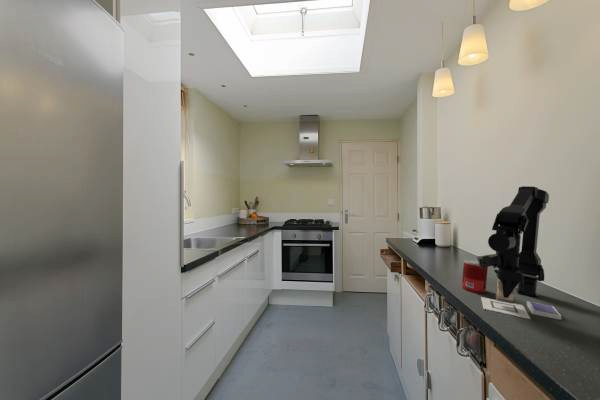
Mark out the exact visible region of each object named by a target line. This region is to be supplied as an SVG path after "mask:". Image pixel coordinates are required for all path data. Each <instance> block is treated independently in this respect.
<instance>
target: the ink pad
mask: <svg viewBox="0 0 600 400" xmlns="http://www.w3.org/2000/svg"><path fill="white" fill-rule="evenodd" d="M526 306H527V308H528V309H529V311H530V313H531V314H532V315H536V316H541V317H546V318H549V319H550V318H551V319H555V320H559V321H560V320H562V314H561V313H560V312H558V310H557V309H556V308H555V307H554V305H549V304H548V305H547V304H543V303H537V302H533V301H528V300H527V301H526Z"/></svg>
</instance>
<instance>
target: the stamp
mask: <svg viewBox="0 0 600 400" xmlns="http://www.w3.org/2000/svg"><path fill="white" fill-rule="evenodd" d="M496 283H497V285H496V294H495V300H497V301H501V302H506V303H512V304H515V303H514V292H515V289H514V290H513V291H512V293H511V294H510V296H509V297H508V298H504V296H503V289H502V281H501V280H500V279H497V282H496Z"/></svg>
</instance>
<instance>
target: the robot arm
mask: <svg viewBox="0 0 600 400" xmlns="http://www.w3.org/2000/svg"><path fill="white" fill-rule="evenodd" d="M549 201H550V195H549V193H548V192H547V191H546V190H544V189H540V188H538V187H537V186H528V185H527V186H525V185H522V186H519V187H518V191H517V193H516V194H515V197H514V198H513V199H512V201H511V203H510V205H508V206H504V207H503V208H501V210H500V211H499V212H497V214H496V216H495V219H494V221H493V225H492V228H491V231H496V232H495V233H493V234H491V235H490V236H489V237H488V239H487V243H488V247H490V249H492V250H493V251H494V252H495V253H494V254H486V255H485V254H484V255H481V256H480V255H479V256H476V258H477V260H478V262H479V265H480V268H486V267H488V268H489V267H492V268H493V269H494V271H493V272H494V273H495V274H496V277H497V280H501V281H502V289H503V296H504V298H508V297H509V296H510V294H511V293H512V291H513V290H514V291H515V292H516V293H517V294H519V295H524V296H525V295H526V296H529V297H537V298H539V297H540V295H539V293H538V292H537V287H538V282H544V281H545V270H544V268H543V265H542V259H541V258H540V256H539V254H538V253H537V247H538V238H539V236H538V235H539V225H540V215H541V214H542V212H543V211H544V210H545V209H546V208H547V204H549ZM521 235H522V236H521ZM521 237H522V239H521ZM521 240H522V241H521ZM520 249H521V250H520Z"/></svg>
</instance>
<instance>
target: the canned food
mask: <svg viewBox="0 0 600 400" xmlns="http://www.w3.org/2000/svg"><path fill="white" fill-rule="evenodd" d="M488 269H489V267H486V268H480V265H479V262H478V259H477V260H476V259H464V260H463V267H462V278H461V279H462V282H461V287H462V289H463V290H465V291H467V292H471V293H476V294H484V293H485V292H486V290H487V281H488Z"/></svg>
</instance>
